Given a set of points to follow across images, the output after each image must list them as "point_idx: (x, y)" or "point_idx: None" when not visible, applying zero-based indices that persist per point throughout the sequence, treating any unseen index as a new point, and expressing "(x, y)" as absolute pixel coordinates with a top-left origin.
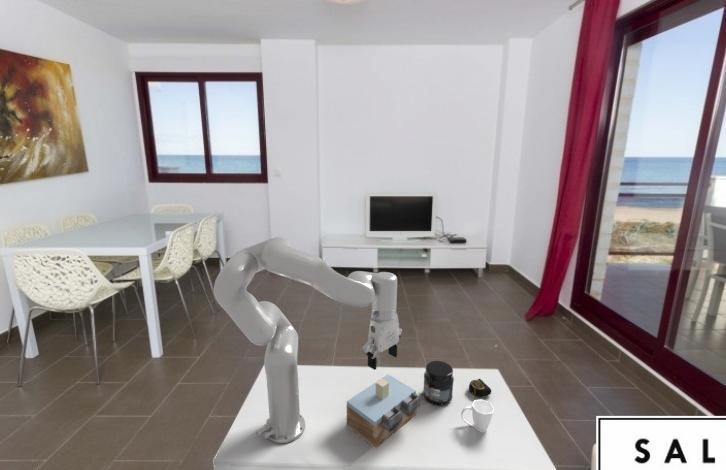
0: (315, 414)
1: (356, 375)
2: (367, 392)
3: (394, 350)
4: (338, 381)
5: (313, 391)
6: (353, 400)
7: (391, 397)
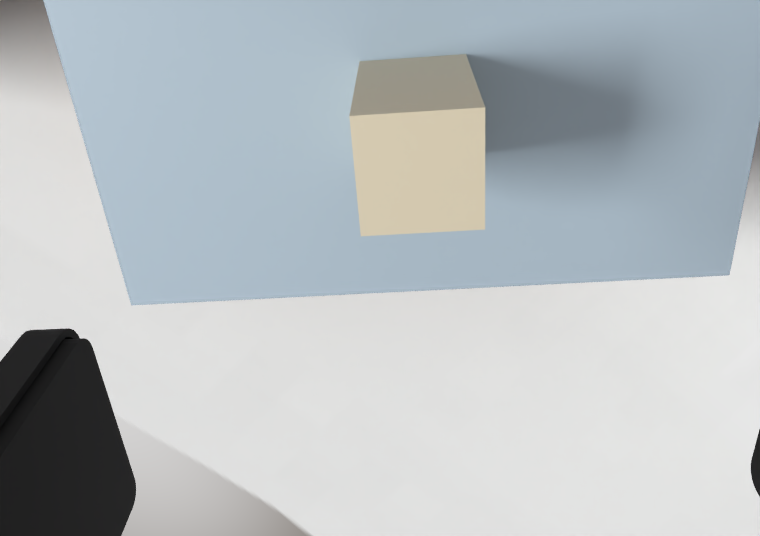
0: (698, 367)
1: (245, 463)
2: (492, 241)
3: (9, 489)
4: (379, 485)
5: (558, 505)
6: (678, 244)
7: (351, 18)
